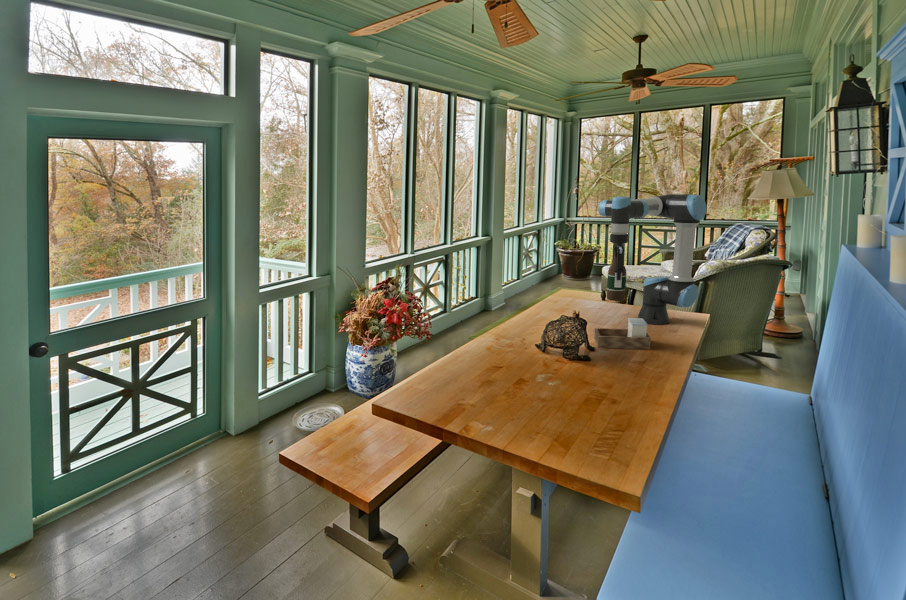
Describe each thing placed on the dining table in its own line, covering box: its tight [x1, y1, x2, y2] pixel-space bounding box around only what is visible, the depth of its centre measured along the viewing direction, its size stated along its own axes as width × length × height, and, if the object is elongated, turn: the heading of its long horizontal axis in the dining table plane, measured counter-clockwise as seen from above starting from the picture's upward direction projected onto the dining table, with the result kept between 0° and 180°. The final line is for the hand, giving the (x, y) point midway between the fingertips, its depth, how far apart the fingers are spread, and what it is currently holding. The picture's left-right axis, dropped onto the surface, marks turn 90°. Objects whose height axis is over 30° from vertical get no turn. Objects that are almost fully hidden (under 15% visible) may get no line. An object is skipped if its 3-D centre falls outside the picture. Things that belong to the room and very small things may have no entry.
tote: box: [593, 327, 652, 350], centre depth 244 cm, size 22×14×5 cm, turn 82°
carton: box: [627, 317, 649, 337], centre depth 243 cm, size 6×10×10 cm, turn 172°
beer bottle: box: [606, 244, 627, 302], centre depth 239 cm, size 8×8×24 cm
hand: (616, 285), depth 240 cm, fingers closed on beer bottle, 8 cm apart
